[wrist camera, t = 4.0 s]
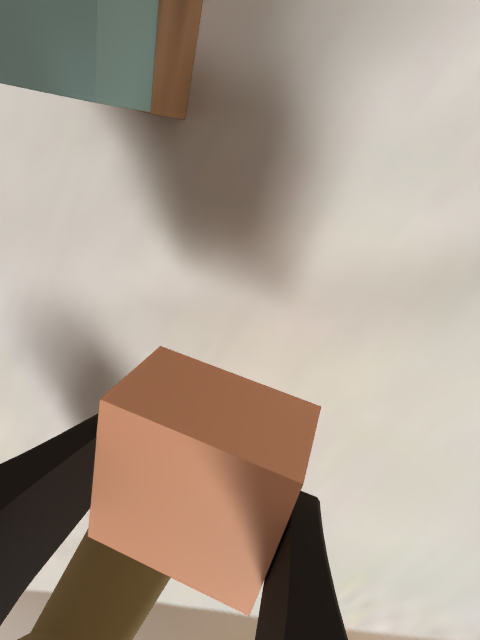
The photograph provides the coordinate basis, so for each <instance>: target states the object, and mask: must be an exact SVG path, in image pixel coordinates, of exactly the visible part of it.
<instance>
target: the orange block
mask: <svg viewBox="0 0 480 640" xmlns="http://www.w3.org/2000/svg"><path fill="white" fill-rule="evenodd" d="M320 409H321V406H318V405H316V404H313V403H310V402H308V401H305V400H302V399H300V398H297V397H294V396H292V395H289V394H286V393H284V392H281V391H278V390H276V389H273V388H270V387H268V386H265V385H262V384H260V383H257V382H254V381H252V380H249V379H247V378H244V377H241V376H239V375H236V374H233V373H231V372H228V371H225V370H223V369H220V368H217V367H215V366H212V365H209V364H207V363H204V362H201V361H199V360H196V359H193V358H191V357H188V356H185V355H183V354H180V353H178V352H175V351H172V350H170V349H167V348H164V347H162V346H160V347H159V348H158V349H157V350H155V351H154V352H153V353H152V354H151V355H150V356H149V357H147V358H146V359H145V360H144V361H143V362H142V363H141V364H139V365H138V366H137V367H136V368H135V369H134V370H133V371H131V372H130V373H129V374H128V375H127V376H126V377H125V378H123V379H122V380H121V381H120V382H119V383H118V384H117V385H115V386H114V387H113V388H112V389H111V390H110V391H109V392H107V393H106V394H105V395H104V396H103V397H102V398H101V399H100V401H99V413H98V424H97V436H96V437H97V439H96V450H95V462H94V473H93V485H92V496H91V507H90V516H89V528H88V537H90V538H92V539H94V540H96V541H98V542H100V543H102V544H104V545H106V546H108V547H110V548H112V549H114V550H116V551H118V552H120V553H122V554H125V555H127V556H129V557H131V558H133V559H135V560H137V561H139V562H141V563H143V564H145V565H147V566H149V567H151V568H153V569H155V570H157V571H159V572H161V573H163V574H165V575H167V576H169V577H171V578H173V579H175V580H177V581H179V582H181V583H183V584H185V585H187V586H189V587H191V588H193V589H195V590H197V591H199V592H201V593H203V594H206V595H208V596H210V597H212V598H214V599H216V600H218V601H220V602H222V603H224V604H226V605H228V606H230V607H232V608H234V609H236V610H238V611H240V612H242V613H244V614H246V615H248V616H250V613H251V611H252V608H253V606H254V604H255V601H256V599H257V596H258V594H259V591H260V589H261V586H262V584H263V581H264V579H265V577H266V574H267V572H268V569H269V567H270V564H271V562H272V559H273V557H274V555H275V552H276V550H277V547H278V545H279V542H280V540H281V537H282V535H283V532H284V530H285V528H286V525H287V523H288V520H289V518H290V515H291V513H292V510H293V508H294V506H295V503H296V501H297V498H298V496H299V493H300V491H301V488H302V486H303V483H304V479H305V474H306V470H307V466H308V461H309V457H310V453H311V448H312V444H313V440H314V435H315V431H316V427H317V422H318V418H319V414H320Z"/></svg>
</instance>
